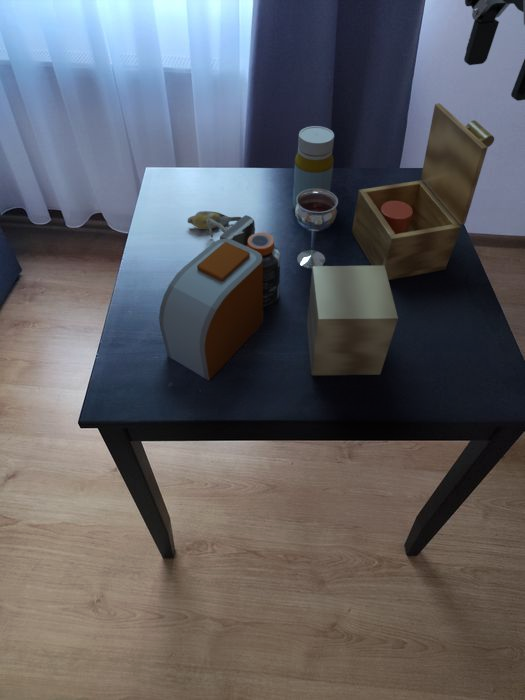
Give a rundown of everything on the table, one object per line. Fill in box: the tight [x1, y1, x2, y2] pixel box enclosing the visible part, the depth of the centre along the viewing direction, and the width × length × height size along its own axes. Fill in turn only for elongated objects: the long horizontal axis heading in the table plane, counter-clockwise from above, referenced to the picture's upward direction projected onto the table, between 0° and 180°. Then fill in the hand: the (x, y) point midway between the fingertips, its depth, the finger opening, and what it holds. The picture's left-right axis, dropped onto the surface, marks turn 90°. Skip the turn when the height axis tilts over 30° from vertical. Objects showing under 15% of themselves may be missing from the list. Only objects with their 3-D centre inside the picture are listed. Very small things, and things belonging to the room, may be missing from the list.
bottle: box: [292, 125, 335, 211], centre depth 89 cm, size 7×7×15 cm
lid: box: [420, 102, 495, 226], centre depth 75 cm, size 13×14×5 cm
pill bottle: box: [247, 232, 281, 307], centre depth 75 cm, size 6×6×11 cm
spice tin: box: [380, 201, 413, 234], centre depth 82 cm, size 5×5×8 cm
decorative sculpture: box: [187, 210, 256, 246], centre depth 85 cm, size 16×10×7 cm, turn 31°
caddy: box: [351, 179, 462, 281], centre depth 83 cm, size 12×14×9 cm
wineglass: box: [294, 189, 339, 269], centre depth 80 cm, size 7×7×12 cm
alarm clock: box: [158, 238, 264, 381], centre depth 68 cm, size 15×8×14 cm, turn 145°
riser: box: [306, 265, 399, 376], centre depth 67 cm, size 10×10×12 cm
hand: (496, 79), depth 47 cm, fingers open, 8 cm apart
